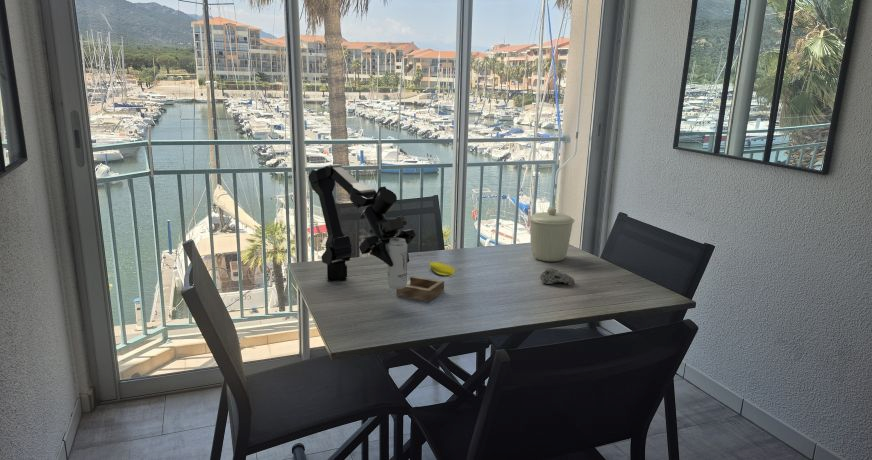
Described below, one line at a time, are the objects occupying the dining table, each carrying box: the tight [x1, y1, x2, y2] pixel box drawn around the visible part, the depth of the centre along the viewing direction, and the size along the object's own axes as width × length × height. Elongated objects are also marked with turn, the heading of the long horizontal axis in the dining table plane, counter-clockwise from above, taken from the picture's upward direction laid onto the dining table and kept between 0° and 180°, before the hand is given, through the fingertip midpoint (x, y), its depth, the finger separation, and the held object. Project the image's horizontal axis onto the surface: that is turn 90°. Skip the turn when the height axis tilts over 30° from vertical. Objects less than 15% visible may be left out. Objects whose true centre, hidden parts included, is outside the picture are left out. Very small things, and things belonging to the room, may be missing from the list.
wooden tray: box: [395, 275, 445, 302], centre depth 190 cm, size 12×11×4 cm
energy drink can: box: [387, 238, 408, 290], centre depth 178 cm, size 6×6×15 cm
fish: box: [429, 261, 456, 279], centre depth 215 cm, size 3×16×10 cm
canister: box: [528, 206, 575, 263], centre depth 232 cm, size 18×18×21 cm
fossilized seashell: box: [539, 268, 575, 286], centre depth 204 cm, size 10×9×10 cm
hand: (400, 264), depth 177 cm, fingers closed on energy drink can, 6 cm apart
